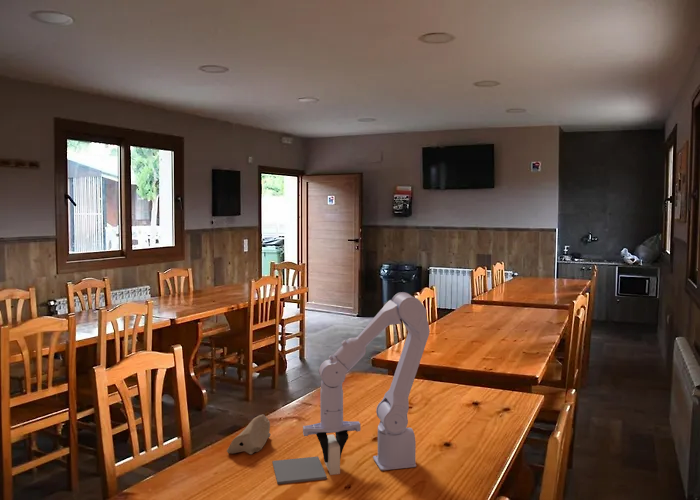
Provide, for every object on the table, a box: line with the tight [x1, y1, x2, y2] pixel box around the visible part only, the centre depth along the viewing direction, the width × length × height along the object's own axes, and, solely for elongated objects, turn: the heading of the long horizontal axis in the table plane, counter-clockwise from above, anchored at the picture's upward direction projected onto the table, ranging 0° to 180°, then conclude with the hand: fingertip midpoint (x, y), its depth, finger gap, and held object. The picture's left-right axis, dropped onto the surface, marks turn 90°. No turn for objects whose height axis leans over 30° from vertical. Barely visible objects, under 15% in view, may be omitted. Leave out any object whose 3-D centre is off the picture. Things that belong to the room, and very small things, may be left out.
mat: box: [272, 456, 328, 485], centre depth 150 cm, size 12×12×1 cm
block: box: [323, 433, 341, 476], centre depth 152 cm, size 2×8×7 cm, turn 13°
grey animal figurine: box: [226, 414, 271, 455], centre depth 165 cm, size 8×14×8 cm, turn 159°
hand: (331, 460), depth 152 cm, fingers closed on block, 2 cm apart
